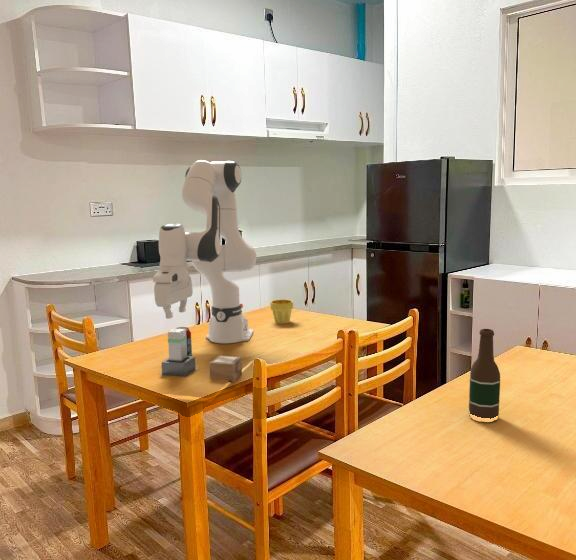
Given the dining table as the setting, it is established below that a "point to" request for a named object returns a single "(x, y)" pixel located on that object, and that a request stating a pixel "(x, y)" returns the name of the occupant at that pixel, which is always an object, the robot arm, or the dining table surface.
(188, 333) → the beverage can
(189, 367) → the grey square bin
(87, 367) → the dining table surface
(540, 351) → the dining table surface
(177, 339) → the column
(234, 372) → the pedestal
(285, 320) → the plant pot
